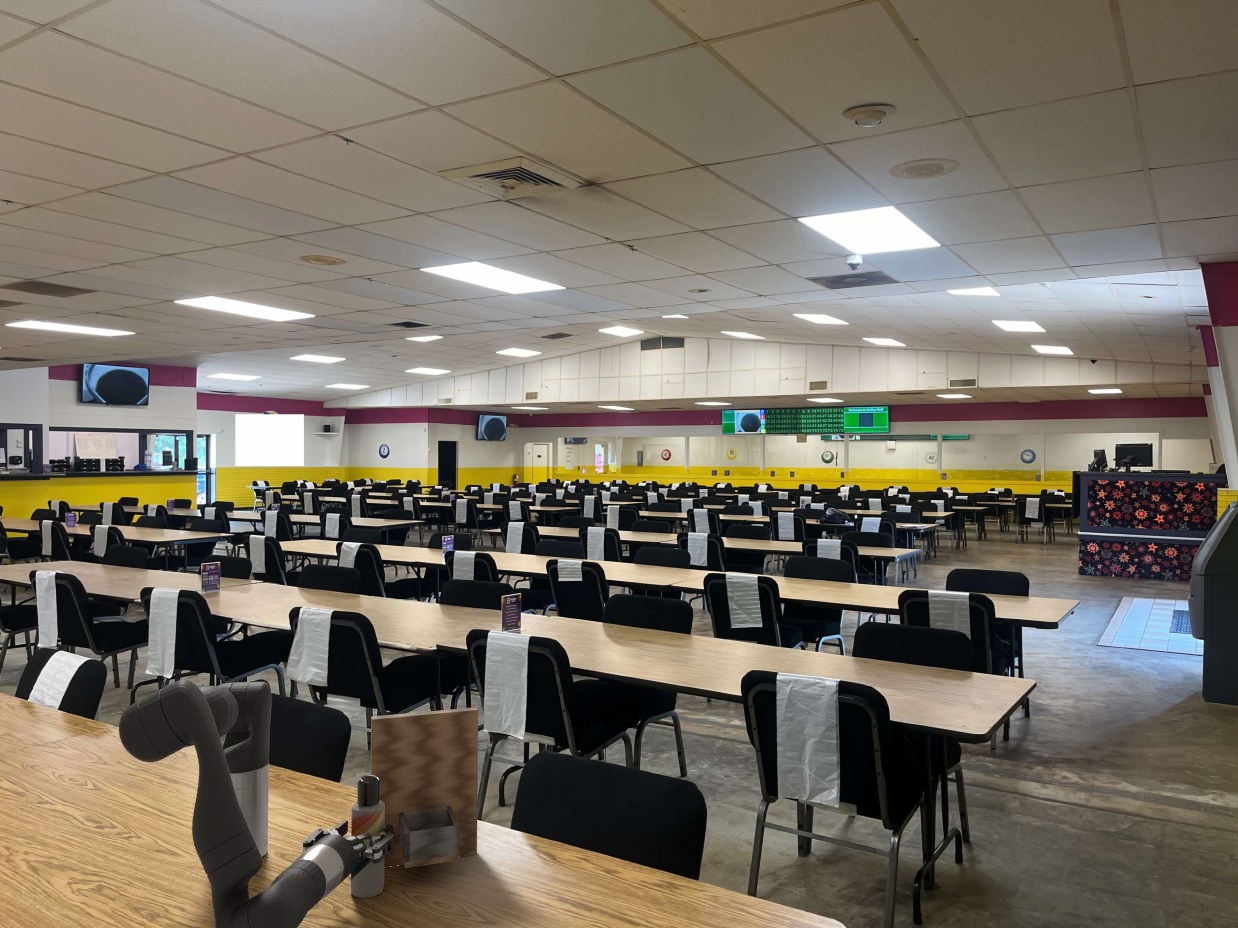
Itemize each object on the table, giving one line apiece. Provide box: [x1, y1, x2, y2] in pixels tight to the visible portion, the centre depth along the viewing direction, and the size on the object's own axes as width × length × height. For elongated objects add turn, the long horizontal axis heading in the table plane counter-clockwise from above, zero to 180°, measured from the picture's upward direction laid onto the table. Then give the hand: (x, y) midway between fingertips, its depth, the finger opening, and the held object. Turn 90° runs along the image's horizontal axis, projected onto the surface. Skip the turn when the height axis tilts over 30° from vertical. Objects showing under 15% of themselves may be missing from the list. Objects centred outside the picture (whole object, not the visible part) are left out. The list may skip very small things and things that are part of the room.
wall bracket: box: [370, 706, 479, 869], centre depth 157 cm, size 20×12×28 cm, turn 110°
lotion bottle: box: [350, 774, 385, 899], centre depth 149 cm, size 6×6×20 cm
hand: (368, 827), depth 149 cm, fingers open, 8 cm apart
